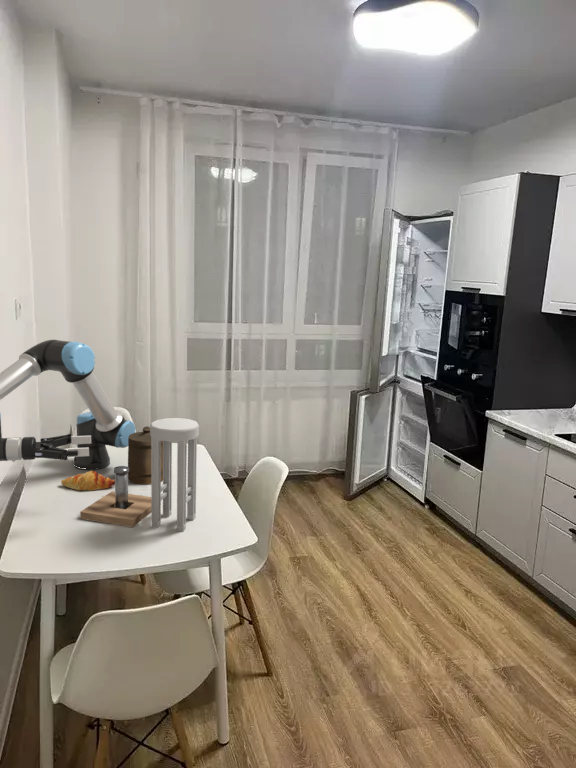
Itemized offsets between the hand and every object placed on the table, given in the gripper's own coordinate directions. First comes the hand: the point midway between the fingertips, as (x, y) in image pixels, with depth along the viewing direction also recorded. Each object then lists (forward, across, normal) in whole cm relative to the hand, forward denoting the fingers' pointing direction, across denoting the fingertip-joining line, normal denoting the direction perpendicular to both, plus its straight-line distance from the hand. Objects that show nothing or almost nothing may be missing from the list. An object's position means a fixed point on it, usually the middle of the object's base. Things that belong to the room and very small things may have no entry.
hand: (90, 445), depth 195 cm
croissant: (-3, -26, -26) cm, 37 cm away
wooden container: (+19, -33, -26) cm, 46 cm away
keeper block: (+10, 0, -25) cm, 27 cm away
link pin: (+10, 0, -25) cm, 27 cm away
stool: (+27, +12, -25) cm, 39 cm away
